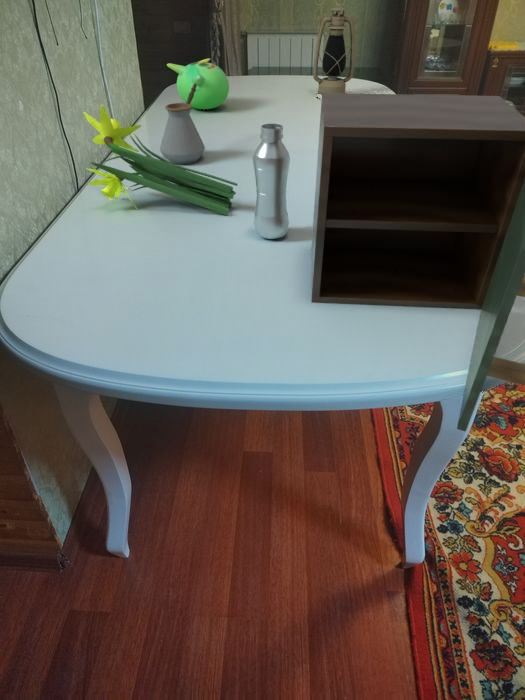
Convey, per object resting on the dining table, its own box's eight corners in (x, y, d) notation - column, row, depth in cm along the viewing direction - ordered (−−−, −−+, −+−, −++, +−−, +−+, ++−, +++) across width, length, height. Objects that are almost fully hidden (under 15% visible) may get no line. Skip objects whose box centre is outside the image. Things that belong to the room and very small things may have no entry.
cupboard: (482, 310, 78) (541, 131, 62) (311, 303, 80) (324, 126, 63) (456, 254, 92) (499, 95, 75) (311, 249, 94) (321, 92, 77)
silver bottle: (282, 245, 95) (285, 133, 82) (248, 239, 97) (246, 129, 84) (292, 231, 99) (297, 123, 87) (260, 225, 101) (260, 119, 89)
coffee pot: (198, 168, 127) (193, 103, 117) (154, 165, 129) (146, 101, 119) (220, 142, 143) (217, 83, 134) (181, 140, 145) (175, 81, 135)
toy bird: (239, 108, 172) (238, 59, 163) (203, 118, 162) (199, 66, 153) (202, 99, 181) (199, 52, 172) (166, 109, 171) (161, 59, 162)
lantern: (347, 92, 190) (356, -5, 172) (354, 99, 181) (365, -2, 162) (309, 93, 190) (314, -5, 171) (314, 100, 180) (320, -2, 161)
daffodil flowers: (216, 236, 100) (47, 176, 99) (224, 241, 114) (77, 189, 114) (244, 151, 97) (71, 89, 97) (248, 168, 112) (98, 114, 111)
